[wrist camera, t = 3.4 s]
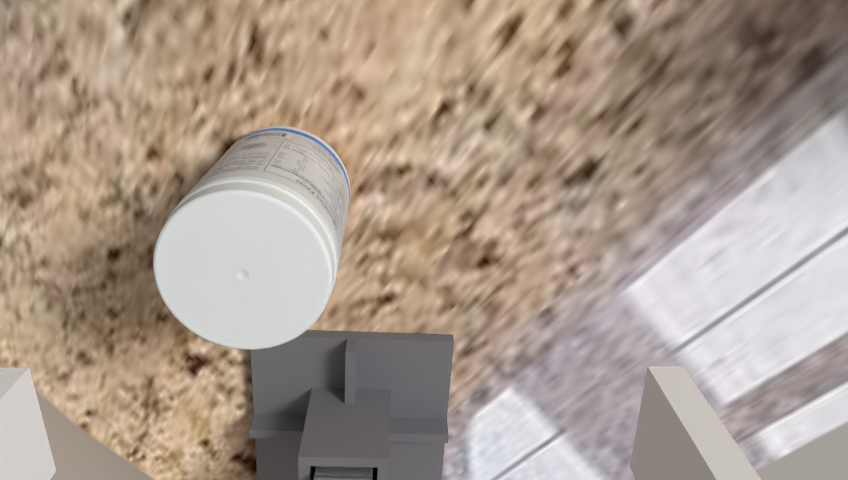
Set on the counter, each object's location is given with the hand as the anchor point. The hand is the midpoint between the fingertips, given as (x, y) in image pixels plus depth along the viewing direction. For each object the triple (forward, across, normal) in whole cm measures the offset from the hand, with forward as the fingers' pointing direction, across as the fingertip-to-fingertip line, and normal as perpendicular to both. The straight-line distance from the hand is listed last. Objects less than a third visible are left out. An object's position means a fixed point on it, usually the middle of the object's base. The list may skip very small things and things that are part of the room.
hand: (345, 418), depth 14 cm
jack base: (+34, -3, -26) cm, 43 cm away
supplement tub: (+34, -7, -6) cm, 35 cm away
